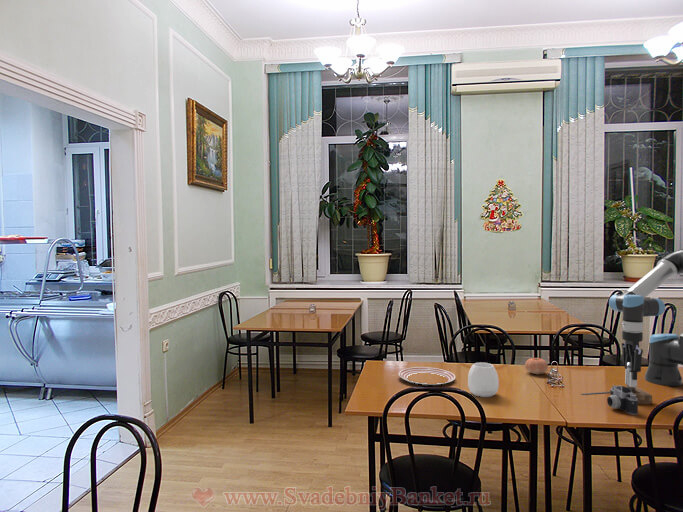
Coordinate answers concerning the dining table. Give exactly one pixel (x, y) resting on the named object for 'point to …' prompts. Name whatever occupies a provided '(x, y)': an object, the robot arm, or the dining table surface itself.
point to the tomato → (536, 365)
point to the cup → (483, 380)
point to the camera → (623, 399)
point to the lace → (595, 393)
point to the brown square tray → (643, 396)
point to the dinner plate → (415, 370)
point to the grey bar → (629, 378)
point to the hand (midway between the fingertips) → (630, 385)
